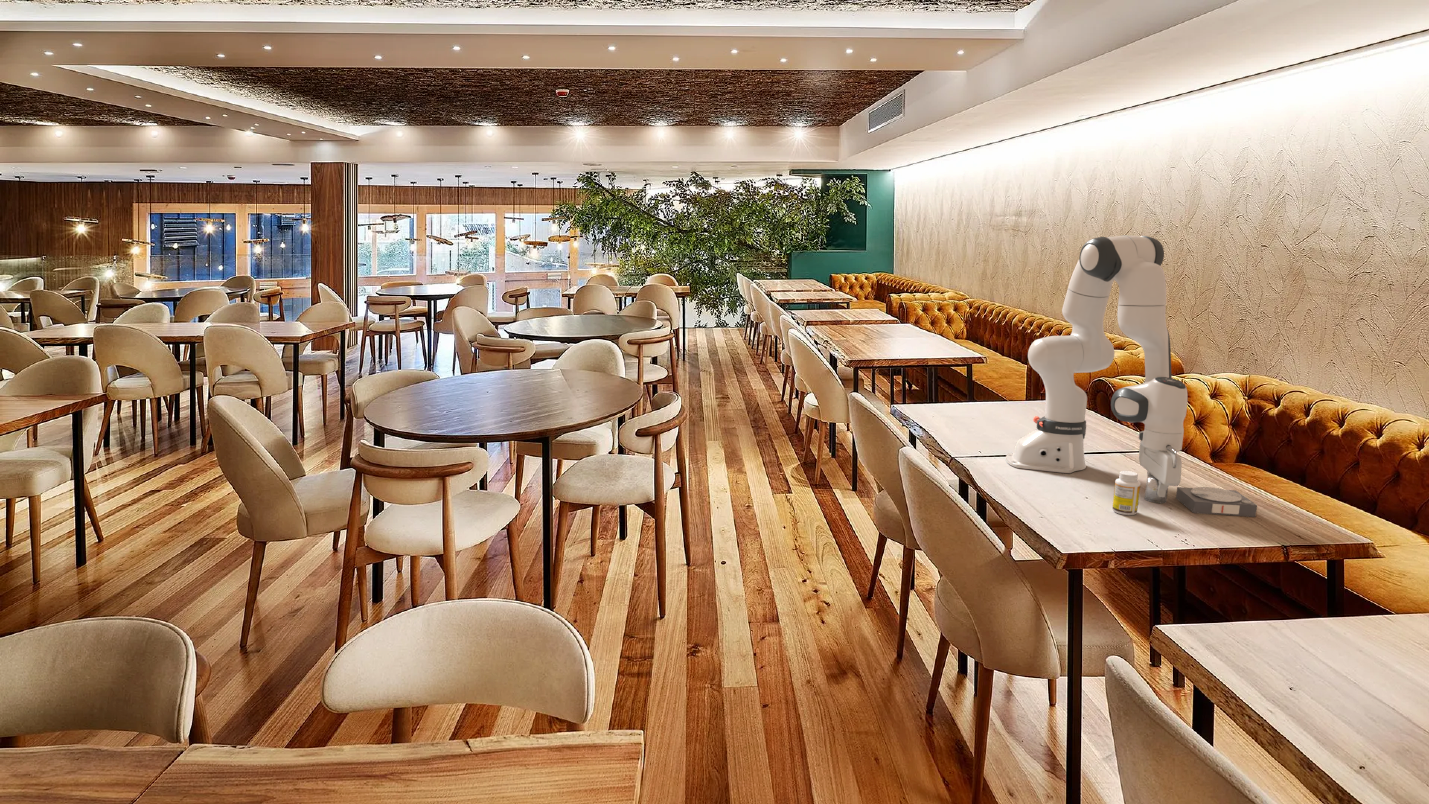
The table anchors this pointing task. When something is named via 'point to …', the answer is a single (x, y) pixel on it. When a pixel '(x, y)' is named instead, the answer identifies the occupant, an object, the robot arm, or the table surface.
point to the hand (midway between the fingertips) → (1156, 492)
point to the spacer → (1153, 490)
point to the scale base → (1216, 504)
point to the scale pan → (1216, 494)
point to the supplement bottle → (1126, 493)
